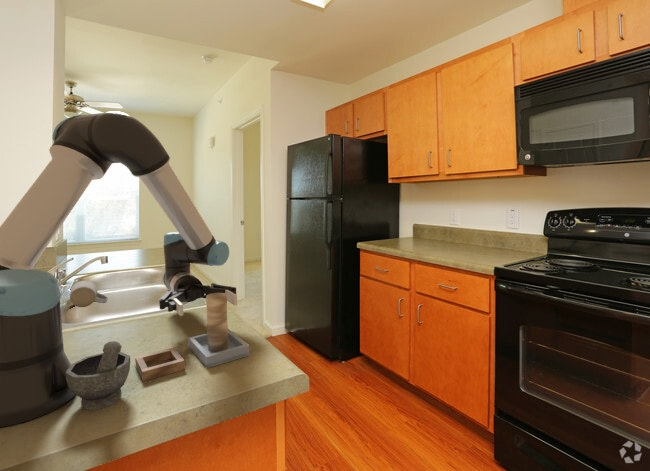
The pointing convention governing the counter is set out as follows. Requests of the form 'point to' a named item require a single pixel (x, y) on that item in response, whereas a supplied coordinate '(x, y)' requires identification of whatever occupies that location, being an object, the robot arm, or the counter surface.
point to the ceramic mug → (86, 294)
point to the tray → (210, 359)
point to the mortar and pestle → (99, 376)
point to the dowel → (217, 322)
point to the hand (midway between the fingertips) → (209, 305)
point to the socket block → (161, 369)
